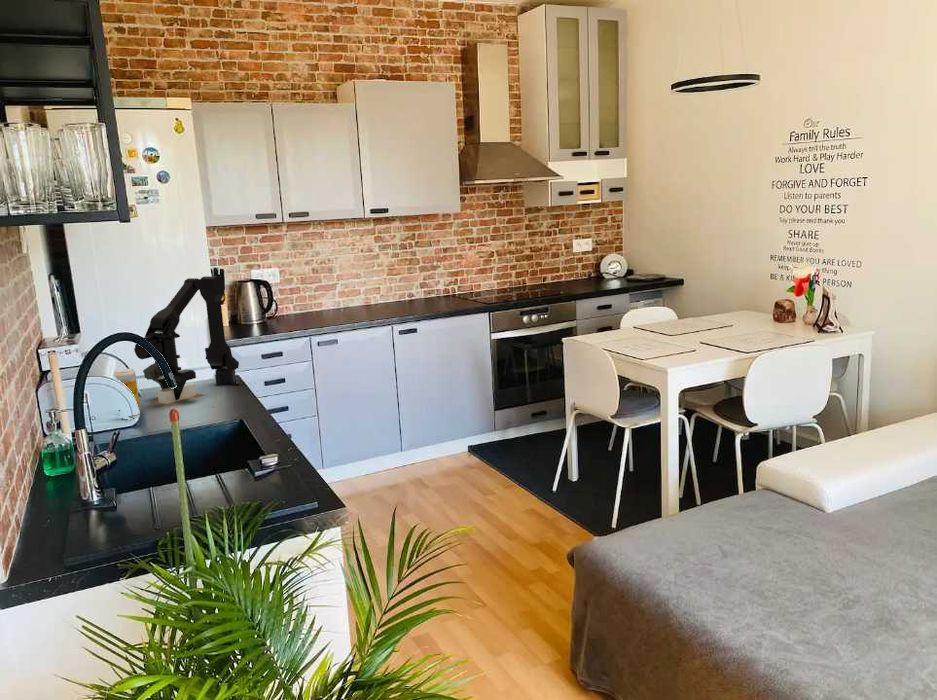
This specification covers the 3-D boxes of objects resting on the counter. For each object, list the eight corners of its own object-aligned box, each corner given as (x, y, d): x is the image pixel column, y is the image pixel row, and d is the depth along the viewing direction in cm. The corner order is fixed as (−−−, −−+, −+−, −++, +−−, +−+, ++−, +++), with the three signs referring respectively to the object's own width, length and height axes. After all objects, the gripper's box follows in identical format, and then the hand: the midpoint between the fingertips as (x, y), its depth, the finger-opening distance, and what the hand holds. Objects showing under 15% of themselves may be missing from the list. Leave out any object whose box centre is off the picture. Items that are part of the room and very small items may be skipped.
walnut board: (182, 394, 257) (182, 391, 257) (206, 397, 251) (206, 394, 251) (145, 405, 244) (144, 402, 244) (169, 409, 239) (169, 406, 238)
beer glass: (119, 421, 227) (112, 373, 224) (120, 416, 232) (113, 369, 230) (140, 418, 229) (134, 371, 226) (141, 413, 235) (135, 367, 232)
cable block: (188, 394, 253) (187, 382, 253) (196, 395, 251) (195, 383, 251) (158, 402, 243) (157, 391, 242) (167, 404, 241) (165, 392, 240)
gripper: (127, 356, 240) (133, 402, 243) (165, 359, 231) (171, 408, 234) (156, 349, 250) (161, 394, 253) (194, 353, 241) (199, 399, 244)
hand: (172, 399), depth 245 cm, fingers closed on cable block, 4 cm apart
